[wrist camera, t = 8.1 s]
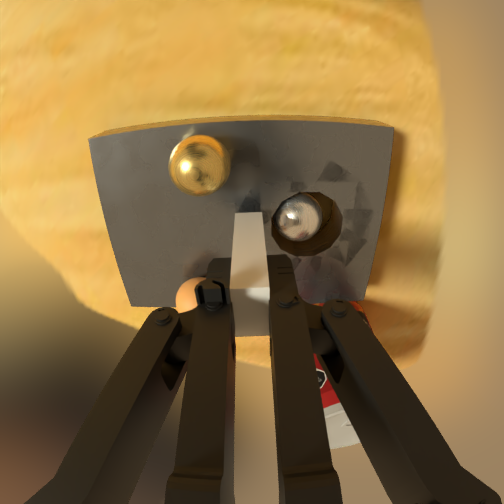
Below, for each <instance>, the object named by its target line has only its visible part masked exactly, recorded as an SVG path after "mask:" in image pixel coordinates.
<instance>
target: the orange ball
mask: <svg viewBox="0 0 504 504" xmlns="http://www.w3.org/2000/svg"><path fill="white" fill-rule="evenodd" d="M205 279H206V278H204V277H196V278H192V279H189V280H187V281H186V282H184V283H183V284H182V285H181V287H180V288H179V290H178V292H177V295H176V307H177V310H178V312H179V313H182V312H186V311H189V310H192V309H194V308H195V307H197V301H196V296H195V291H194V289H195V287H196V285H197V284H198V283H199V282H201V281H203V280H205Z"/></svg>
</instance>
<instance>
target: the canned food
mask: <svg viewBox="0 0 504 504" xmlns="http://www.w3.org/2000/svg"><path fill="white" fill-rule="evenodd" d="M348 302H350V303H351V304H352V305H353V306H354V308H355V309H356V310H357V312H358V313H359V314H360V316H361V317H362V319H363V320H364V321H365V323H366V324H367V325H368V327H369V328H370V330H371V331H372V329H371V326H370V324H369V321H368V319H367V316H366V314H365V312H364V310H363V309H362V307H361V306H360V305H359V304H358V303H357V302H356V301H348ZM323 304H324V303H317V304H313V305H318V306H323ZM372 332H373V331H372ZM313 354H314V353H313ZM314 359H315V364H316V370H317V375H318V381H319V386H320V392H321V397H322V403H323V409H324V415H325V421H326V427H327V433H328V439H329V446H330V449H334V448H341V447H346V446H350V445H354V444H357V443H359V442H360V440H359V438H358V436H357V434H356V432H355V430H354V428H353V426H352V424H351V422H350V420H349V418H348V417H347V415H346V413H345V411H344V409H343V407H342V405H341V403H340V401H339V399H338V397H337V395H336V393H335V391H334V389H333V388H332V386H331V384H330V382H329V380H328V378H327V376H326V374H325V372H324V370H323V368H322V366H321V364H320V363H319V361H318V359H317V357H316V354H314Z"/></svg>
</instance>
